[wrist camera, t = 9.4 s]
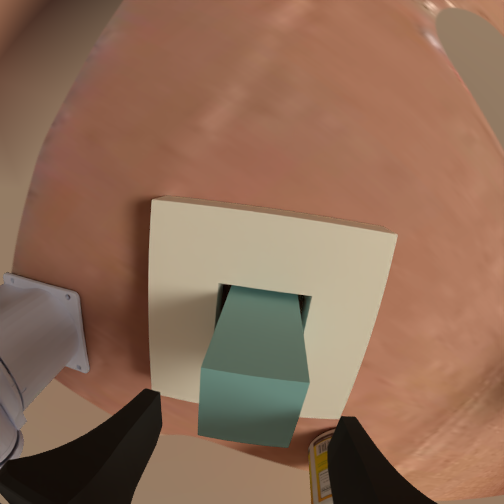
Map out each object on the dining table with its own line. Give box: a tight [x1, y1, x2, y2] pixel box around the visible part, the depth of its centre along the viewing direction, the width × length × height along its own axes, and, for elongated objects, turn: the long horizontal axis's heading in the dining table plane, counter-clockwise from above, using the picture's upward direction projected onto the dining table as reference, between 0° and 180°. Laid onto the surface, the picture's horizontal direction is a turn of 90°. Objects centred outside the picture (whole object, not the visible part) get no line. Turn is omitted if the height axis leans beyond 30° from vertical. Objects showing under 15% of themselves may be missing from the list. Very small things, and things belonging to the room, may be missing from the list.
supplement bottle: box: [308, 429, 335, 504], centre depth 19 cm, size 6×6×10 cm
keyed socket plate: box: [148, 195, 397, 419], centre depth 20 cm, size 14×14×2 cm
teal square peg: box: [198, 285, 310, 448], centre depth 16 cm, size 4×4×10 cm
